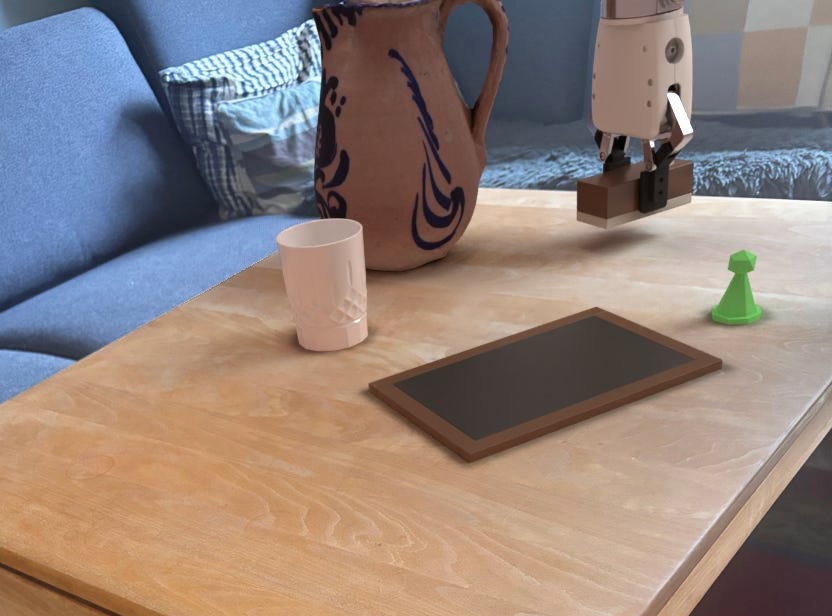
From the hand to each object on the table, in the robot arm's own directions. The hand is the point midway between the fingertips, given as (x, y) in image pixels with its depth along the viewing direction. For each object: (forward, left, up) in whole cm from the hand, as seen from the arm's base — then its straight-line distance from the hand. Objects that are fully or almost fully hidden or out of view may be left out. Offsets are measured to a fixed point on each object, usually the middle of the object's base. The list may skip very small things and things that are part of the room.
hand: (634, 203), depth 102 cm
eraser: (0, 0, -1) cm, 1 cm away
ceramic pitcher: (+18, -15, -4) cm, 24 cm away
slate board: (+27, +21, -4) cm, 35 cm away
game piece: (+7, +22, -4) cm, 24 cm away
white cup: (+36, 0, -4) cm, 36 cm away
